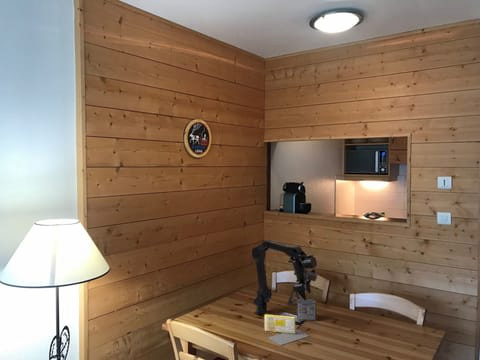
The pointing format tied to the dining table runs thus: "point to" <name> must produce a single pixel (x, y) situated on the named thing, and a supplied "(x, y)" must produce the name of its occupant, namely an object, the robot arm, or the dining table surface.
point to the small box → (306, 309)
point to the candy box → (279, 324)
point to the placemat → (288, 337)
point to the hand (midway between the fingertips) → (307, 296)
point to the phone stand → (292, 297)
